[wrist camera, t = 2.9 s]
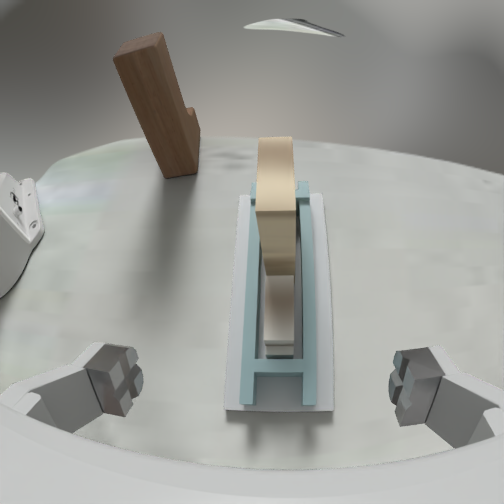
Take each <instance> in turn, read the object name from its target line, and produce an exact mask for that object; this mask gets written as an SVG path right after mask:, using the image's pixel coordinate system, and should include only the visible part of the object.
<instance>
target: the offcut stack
mask: <svg viewBox="0 0 504 504" xmlns="http://www.w3.org/2000/svg"><path fill="white" fill-rule="evenodd" d="M264 343H265V346H266V347H265V355H266V358H267V359H293V355H294V275H285V276H266V282H265V314H264Z"/></svg>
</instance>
